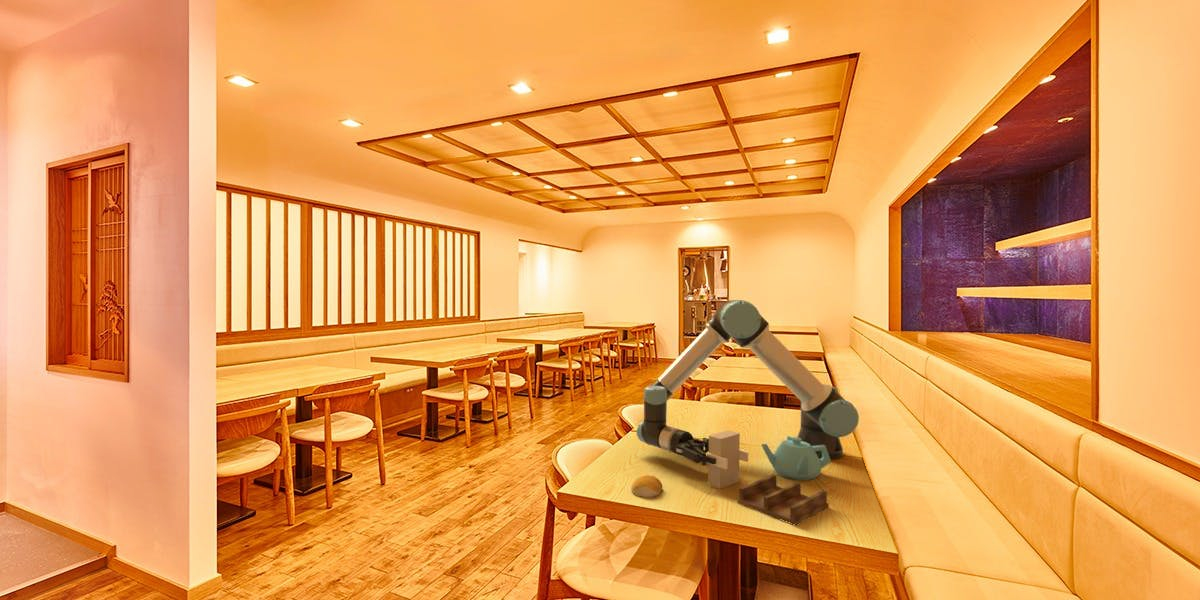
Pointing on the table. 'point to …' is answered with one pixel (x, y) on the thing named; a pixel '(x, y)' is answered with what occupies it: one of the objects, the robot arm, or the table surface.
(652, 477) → the bread roll
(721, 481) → the cardboard box
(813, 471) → the teapot
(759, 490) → the walnut rack
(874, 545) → the table surface
